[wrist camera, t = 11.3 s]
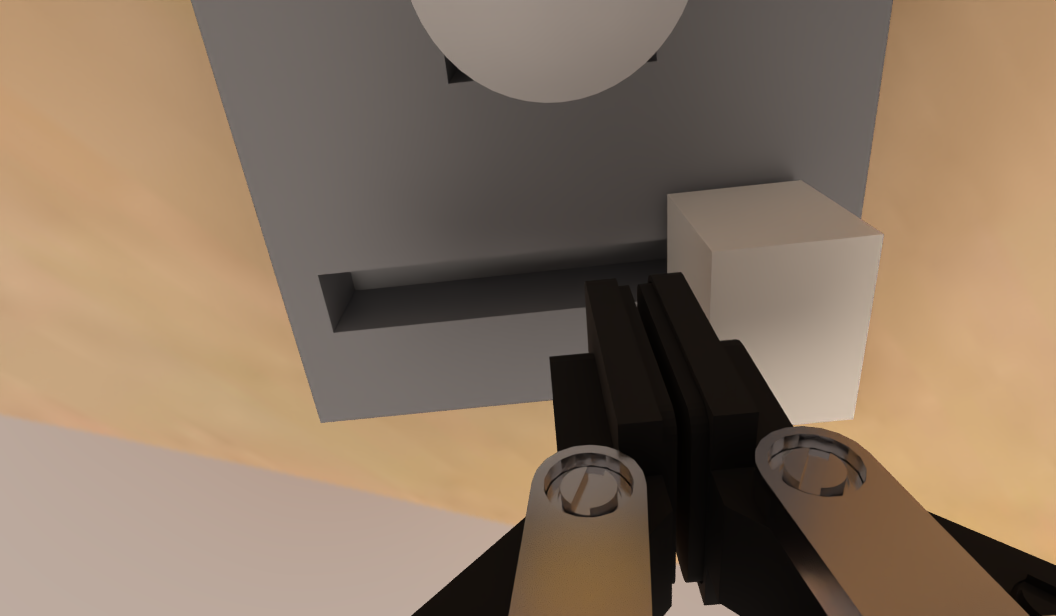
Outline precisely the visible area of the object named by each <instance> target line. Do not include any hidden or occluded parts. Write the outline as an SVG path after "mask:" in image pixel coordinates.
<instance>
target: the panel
mask: <svg viewBox="0 0 1056 616" xmlns="http://www.w3.org/2000/svg"><path fill="white" fill-rule="evenodd" d="M191 3H192V6H193V9H194V12H195V16H196V19H197V22H198V25H199V29H200V32H201V35H202V38H203V42H204V45H205V48H206V51H207V55H208V58H209V61H210V64H211V68H212V71H213V74H214V77H215V81H216V84H217V87H218V90H219V94H220V97H221V100H222V103H223V107H224V110H225V113H226V116H227V120H228V123H229V126H230V129H231V133H232V136H233V139H234V142H235V146H236V149H237V152H238V155H239V159H240V162H241V165H242V168H243V172H244V175H245V178H246V181H247V185H248V188H249V191H250V194H251V197H252V201H253V204H254V207H255V210H256V214H257V217H258V220H259V223H260V227H261V230H262V233H263V236H264V240H265V243H266V246H267V249H268V253H269V256H270V259H271V262H272V266H273V269H274V272H275V275H276V279H277V282H278V285H279V288H280V292H281V295H282V298H283V301H284V305H285V308H286V311H287V314H288V318H289V321H290V324H291V327H292V331H293V334H294V337H295V340H296V344H297V347H298V350H299V353H300V357H301V360H302V363H303V366H304V370H305V373H306V376H307V379H308V383H309V386H310V389H311V392H312V396H313V399H314V402H315V405H316V409H317V412H318V415H319V418H320V422H321V423H325V422H335V421H345V420H355V419H365V418H375V417H385V416H396V415H406V414H416V413H426V412H436V411H446V410H457V409H467V408H477V407H487V406H497V405H507V404H518V403H528V402H538V401H548V400H553V394H552V383H551V371H550V360H549V357H550V356H561V355H571V354H582V353H589V352H588V336H587V320H586V305H585V285H584V284H585V281H592V280H602V279H613V278H616V280H617V283H618V286H625V285H629V287H630V289H631V292H632V295H633V298H634V300H635V303H636V306H637V285H638V284H645V283H648V277H649V275H654V274H664V273H667V194H673V193H682V192H692V191H701V190H711V189H721V188H730V187H740V186H749V185H759V184H768V183H778V182H787V181H797V180H802V181H803V182H805V183H806V184H808V185H809V186H811V187H812V188H814V189H816V190H817V191H819V192H820V193H822V194H823V195H825V196H826V197H828V198H829V199H831V200H832V201H834V202H835V203H837V204H839V205H840V206H842V207H843V208H845V209H846V210H848V211H849V212H851V213H852V214H854V215H855V216H857V217H858V218H860V219H861V215H862V208H863V201H864V195H865V188H866V181H867V174H868V167H869V161H870V154H871V147H872V140H873V133H874V126H875V120H876V113H877V106H878V99H879V92H880V86H881V79H882V72H883V65H884V58H885V51H886V45H887V38H888V31H889V24H890V17H891V11H892V4H893V0H688V2H687V4H686V6H685V9H684V11H683V13H682V15H681V17H680V18H679V20H678V22H677V24H676V25H675V27H674V29H673V30H672V32H671V33H670V35H669V36H668V38H667V39H666V40H665V42H664V43H663V44H662V46H661V47H660V48H659V49H658V50H657V51H656V52H655V54H654V55H653V56H652V57H651V58H650V59H649V60H648V61H647V62H646V63H645V64H644V65H643V66H641V67H640V68H639V69H638V70H636V71H635V72H634V73H633V74H632V75H630V76H629V77H627V78H626V79H624V80H623V81H621V82H619V83H618V84H616V85H615V86H613V87H610V88H608V89H606V90H604V91H602V92H600V93H598V94H595V95H591V96H588V97H585V98H582V99H578V100H572V101H566V102H555V103H540V102H530V101H524V100H520V99H515V98H511V97H508V96H505V95H503V94H500V93H497V92H495V91H492V90H490V89H488V88H487V87H485V86H483V85H481V84H479V83H477V82H476V81H474V80H473V79H472V78H470V77H469V76H467V75H466V74H465V73H463V72H462V71H461V70H459V69H458V68H457V67H456V66H455V65H454V64H453V63H452V62H451V61H450V60H449V59H448V58H447V57H446V56H445V55H444V54H443V53H442V51H441V50H440V49H439V48H438V47H437V45H436V44H435V43H434V42H433V40H432V39H431V37H430V36H429V34H428V33H427V31H426V29H425V28H424V26H423V25H422V23H421V21H420V19H419V17H418V15H417V13H416V11H415V9H414V7H413V5H412V2H411V0H191Z"/></svg>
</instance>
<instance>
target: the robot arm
mask: <svg viewBox="0 0 1056 616" xmlns="http://www.w3.org/2000/svg"><path fill="white" fill-rule="evenodd" d="M584 285H585V305H586V320H587V336H588V352H589V353H582V354H571V355H561V356H550V357H549V360H550V371H551V383H552V394H553V406H554V417H555V429H556V441H557V453H555V454H554V455H552V456H550V457H549V458H547V459H546V460H545V461H544V462H543V463H542V464H541V465H540V467H539V468H538V469H537V470H536V473H535V475H534V478H533V480H532V484H531V490H530V495H529V501H528V507H527V513H526V517H525V518H524V519H523V520H521V521H520V522H519V523H518V524H517V525H516V526H515V527H513V528H512V529H511V530H510V531H509V532H508V533H506V534H505V535H504V536H503V537H502V538H501V539H500V540H498V541H497V542H496V543H495V544H494V545H493V546H491V547H490V548H489V549H488V550H487V551H486V552H485V553H484V554H482V555H481V556H480V557H479V558H478V559H476V560H475V561H474V562H473V563H472V564H471V565H469V566H468V567H467V568H466V569H465V570H464V571H462V572H461V573H460V574H459V575H458V576H457V577H455V578H454V579H453V580H452V581H451V582H450V583H449V584H447V586H445V587H444V588H443V589H442V590H441V591H439V592H438V593H437V594H436V595H435V596H434V597H433V598H431V599H430V600H429V601H428V602H427V603H425V604H424V605H423V606H422V607H421V608H420V609H418V610H417V611H416V612H415V613H414V614H413V615H412V616H664V615H665V613H666V612H667V611H668V610H669V608H670V607H671V606H672V605H671V604H672V584H674V583H675V569H676V553H677V557H678V561H679V564H680V568H681V571H682V575H683V578H684V580H685V582H697V583H698V586H699V589H700V593H701V596H702V599H703V603H704V605H715V604H722V605H724V606H725V607H727V608H728V609H730V610H732V611H733V612H735V613H737V614H738V615H740V616H1056V565H1054V564H1051V563H1049V562H1047V561H1044V560H1042V559H1039V558H1037V557H1035V556H1032V555H1030V554H1028V553H1025V552H1023V551H1020V550H1018V549H1016V548H1013V547H1011V546H1009V545H1006V544H1004V543H1001V542H999V541H997V540H994V539H992V538H990V537H987V536H985V535H982V534H980V533H978V532H975V531H973V530H971V529H968V528H966V527H964V526H961V525H959V524H956V523H954V522H952V521H949V520H947V519H945V518H942V517H940V516H937V515H935V514H933V513H930V512H928V511H926V510H925V509H924V508H923V507H922V506H921V505H920V503H919V502H918V501H917V500H916V499H915V498H914V497H913V496H912V495H911V494H910V493H909V492H908V491H907V490H906V489H905V488H904V487H903V486H902V485H901V484H900V483H899V482H898V481H897V480H896V479H895V478H894V477H893V476H892V475H891V474H890V473H889V472H888V471H887V470H886V469H885V468H884V467H883V466H882V465H881V464H880V463H879V462H878V461H877V460H876V459H875V458H874V457H873V456H872V455H871V454H870V453H869V452H868V451H867V450H866V449H864V448H863V447H862V446H861V445H859V444H858V443H857V442H855V441H853V440H851V439H849V438H847V437H845V436H843V435H841V434H839V433H836V432H832V431H829V430H826V429H822V428H815V427H806V426H799V427H793V425H792V424H791V422H790V420H789V419H788V417H787V415H786V414H785V412H784V410H783V409H782V407H781V406H780V404H779V402H778V401H777V399H776V397H775V396H774V394H773V392H772V391H771V389H770V388H769V386H768V384H767V383H766V381H765V379H764V378H763V376H762V374H761V373H760V371H759V369H758V368H757V366H756V365H755V363H754V361H753V360H752V358H751V356H750V355H749V353H748V351H747V350H746V348H745V347H744V345H743V344H742V342H741V341H740V340H737V339H732V340H722V341H720V340H719V338H718V337H717V335H716V333H715V331H714V329H713V328H712V326H711V324H710V322H709V320H708V319H707V317H706V315H705V313H704V311H703V310H702V308H701V306H700V304H699V302H698V301H697V299H696V297H695V295H694V293H693V291H692V290H691V288H690V286H689V284H688V282H687V281H686V279H685V277H684V275H683V274H682V272H675V273H664V274H654V275H649V277H648V283H645V284H638V285H637V306H636V303H635V300H634V298H633V295H632V292H631V289H630V287H629V285H625V286H618V283H617V280H616V278H613V279H602V280H592V281H585V284H584Z"/></svg>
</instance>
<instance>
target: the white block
mask: <svg viewBox="0 0 1056 616" xmlns="http://www.w3.org/2000/svg"><path fill="white" fill-rule="evenodd" d="M883 238H884V234H883V233H881V232H880V231H878V230H877V229H875V228H874V227H872V226H871V225H869V224H868V223H866V222H865V221H863V220H862V219H860V218H858V217H857V216H855V215H854V214H852V213H851V212H849V211H848V210H846V209H845V208H843V207H842V206H840V205H839V204H837V203H835V202H834V201H832V200H831V199H829V198H828V197H826V196H825V195H823V194H822V193H820V192H819V191H817V190H816V189H814V188H812V187H811V186H809V185H808V184H806V183H805V182H803V181H802V180H797V181H787V182H778V183H768V184H759V185H749V186H740V187H730V188H721V189H711V190H701V191H692V192H682V193H673V194H667V273H675V272H682V274H683V275H684V277H685V279H686V281H687V282H688V284H689V286H690V288H691V290H692V291H693V293H694V295H695V297H696V299H697V301H698V302H699V304H700V306H701V308H702V310H703V311H704V313H705V315H706V317H707V319H708V320H709V322H710V324H711V326H712V328H713V329H714V331H715V333H716V335H717V337H718V338H719V340H720V341H722V340H732V339H737V340H740V341H741V342H742V344H743V345H744V347H745V348H746V350H747V351H748V353H749V355H750V356H751V358H752V360H753V361H754V363H755V365H756V366H757V368H758V369H759V371H760V373H761V374H762V376H763V378H764V379H765V381H766V383H767V384H768V386H769V388H770V389H771V391H772V392H773V394H774V396H775V397H776V399H777V401H778V402H779V404H780V406H781V407H782V409H783V410H784V412H785V414H786V415H787V417H788V419H789V420H790V422H791V424H792V425H798V424H809V423H819V422H829V421H840V420H850V419H854V413H855V407H856V401H857V395H858V389H859V383H860V377H861V371H862V364H863V358H864V352H865V346H866V340H867V334H868V328H869V322H870V316H871V310H872V304H873V298H874V292H875V286H876V280H877V274H878V268H879V262H880V256H881V250H882V244H883Z"/></svg>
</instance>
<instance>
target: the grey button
mask: <svg viewBox="0 0 1056 616" xmlns="http://www.w3.org/2000/svg"><path fill="white" fill-rule="evenodd" d="M411 2H412V5H413V7H414V9H415V11H416V13H417V15H418V17H419V19H420V21H421V23H422V25H423V26H424V28H425V29H426V31H427V33H428V34H429V36H430V37H431V39H432V40H433V42H434V43H435V44H436V45H437V47H438V48H439V49H440V50H441V51H442V53H443V54H444V55H445V56H446V57H447V58H448V59H449V60H450V61H451V62H452V63H453V64H454V65H455V66H456V67H457V68H458V69H459V70H461V71H462V72H463V73H465V74H466V75H467V76H469V77H470V78H472V79H473V80H474V81H476V82H477V83H479V84H481V85H483V86H485V87H487V88H488V89H490V90H492V91H495V92H497V93H500V94H503V95H505V96H508V97H511V98H515V99H520V100H524V101H530V102H540V103H555V102H566V101H572V100H578V99H582V98H585V97H588V96H591V95H595V94H598V93H600V92H602V91H604V90H606V89H608V88H610V87H613V86H615V85H616V84H618V83H619V82H621V81H623V80H624V79H626V78H627V77H629V76H630V75H632V74H633V73H634V72H635V71H636V70H638V69H639V68H640V67H641V66H643V65H644V64H645V63H646V62H647V61H648V60H649V59H650V58H651V57H652V56H653V55H654V54H655V52H656V51H657V50H658V49H659V48H660V47H661V46H662V44H663V43H664V42H665V40H666V39H667V38H668V36H669V35H670V33H671V32H672V30H673V29H674V27H675V25H676V24H677V22H678V20H679V18H680V17H681V15H682V13H683V11H684V9H685V6H686V4H687V2H688V0H411Z"/></svg>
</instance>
